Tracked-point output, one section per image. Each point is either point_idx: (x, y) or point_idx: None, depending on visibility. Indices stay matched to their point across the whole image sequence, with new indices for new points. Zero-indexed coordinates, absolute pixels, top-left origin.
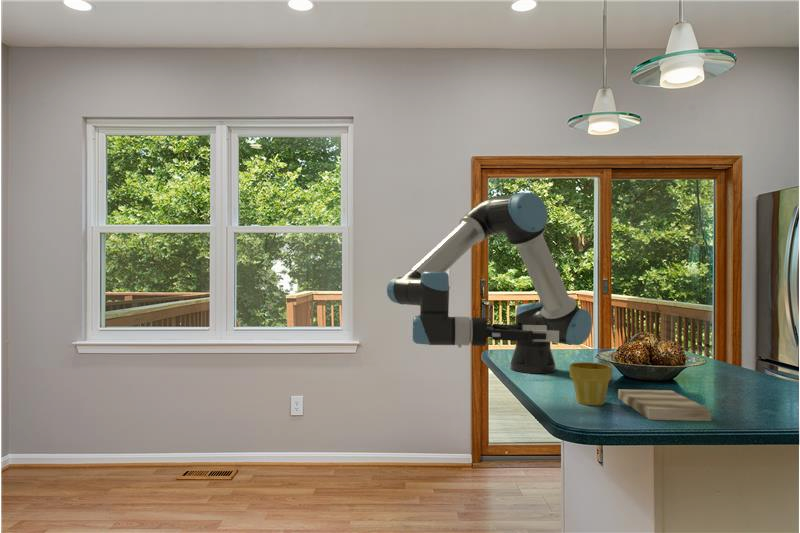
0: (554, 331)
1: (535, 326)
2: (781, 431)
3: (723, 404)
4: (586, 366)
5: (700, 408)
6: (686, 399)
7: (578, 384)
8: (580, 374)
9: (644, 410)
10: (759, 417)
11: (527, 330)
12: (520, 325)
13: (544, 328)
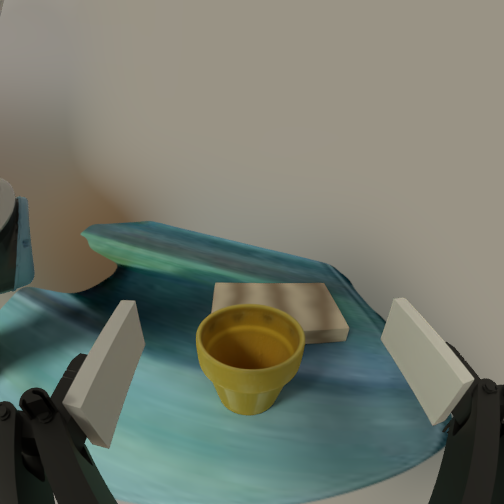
0: (414, 310)
1: (114, 347)
2: (336, 269)
3: (236, 268)
4: (203, 337)
5: (319, 287)
6: (271, 285)
7: (274, 391)
8: (293, 370)
9: (330, 335)
10: (288, 265)
11: (106, 406)
12: (62, 419)
13: (133, 321)
